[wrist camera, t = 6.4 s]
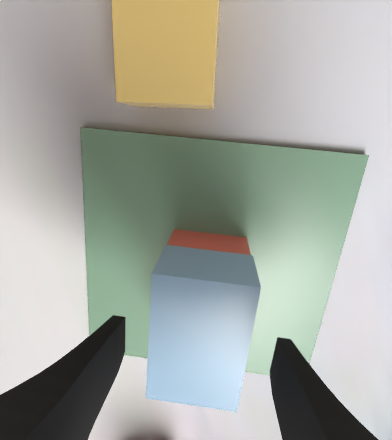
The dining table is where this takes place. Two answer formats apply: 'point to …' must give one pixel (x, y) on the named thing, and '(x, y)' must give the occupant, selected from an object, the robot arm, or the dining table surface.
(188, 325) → the slate-blue brick
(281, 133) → the dining table surface
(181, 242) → the red base brick
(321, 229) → the baseplate
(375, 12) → the dining table surface
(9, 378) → the dining table surface
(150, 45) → the ochre brick
